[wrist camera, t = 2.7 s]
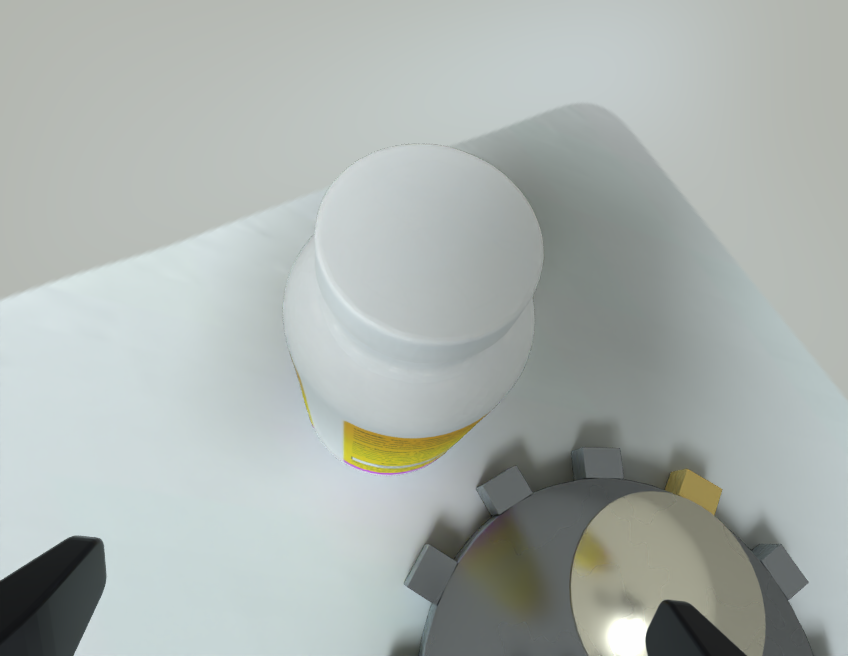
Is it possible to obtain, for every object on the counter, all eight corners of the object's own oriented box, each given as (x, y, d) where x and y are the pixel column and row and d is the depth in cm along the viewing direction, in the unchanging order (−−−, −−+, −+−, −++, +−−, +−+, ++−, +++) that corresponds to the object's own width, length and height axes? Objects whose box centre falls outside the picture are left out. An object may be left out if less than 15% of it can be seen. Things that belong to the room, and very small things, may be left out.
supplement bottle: (494, 407, 23) (658, 265, 11) (377, 514, 20) (421, 482, 9) (395, 297, 24) (444, 62, 12) (274, 385, 22) (189, 204, 10)
